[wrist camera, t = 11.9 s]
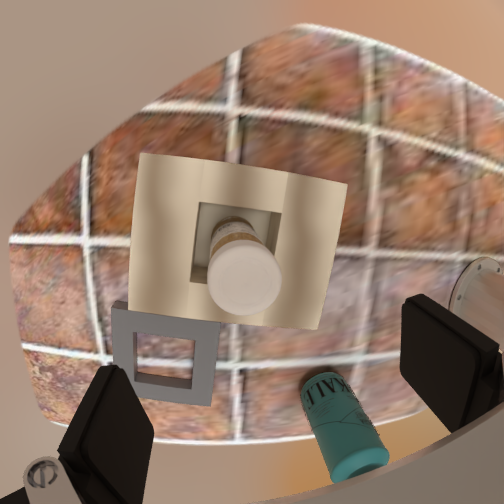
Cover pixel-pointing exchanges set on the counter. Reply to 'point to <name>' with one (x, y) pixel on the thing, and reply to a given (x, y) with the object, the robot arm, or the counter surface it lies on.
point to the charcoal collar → (168, 326)
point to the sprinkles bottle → (241, 269)
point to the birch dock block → (203, 222)
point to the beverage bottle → (341, 428)
